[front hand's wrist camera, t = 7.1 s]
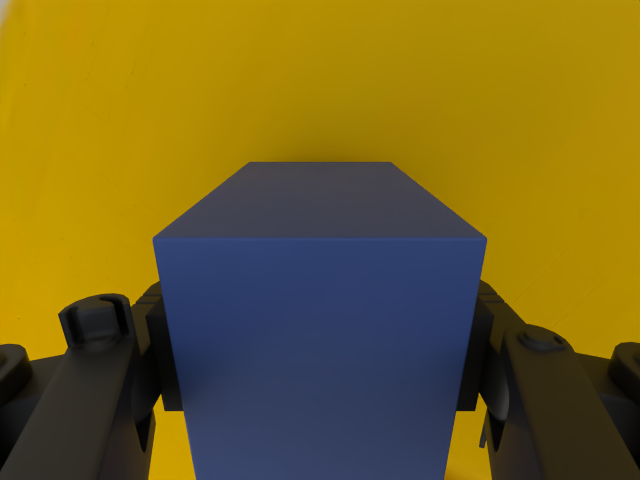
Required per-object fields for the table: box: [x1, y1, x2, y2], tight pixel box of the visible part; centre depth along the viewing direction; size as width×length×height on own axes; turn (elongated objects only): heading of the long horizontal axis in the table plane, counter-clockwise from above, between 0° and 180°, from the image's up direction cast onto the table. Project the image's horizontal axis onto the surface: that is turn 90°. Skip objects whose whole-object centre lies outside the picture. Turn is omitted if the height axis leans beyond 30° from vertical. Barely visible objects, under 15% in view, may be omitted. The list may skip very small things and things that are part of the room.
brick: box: [152, 162, 487, 480], centre depth 12 cm, size 6×7×9 cm
